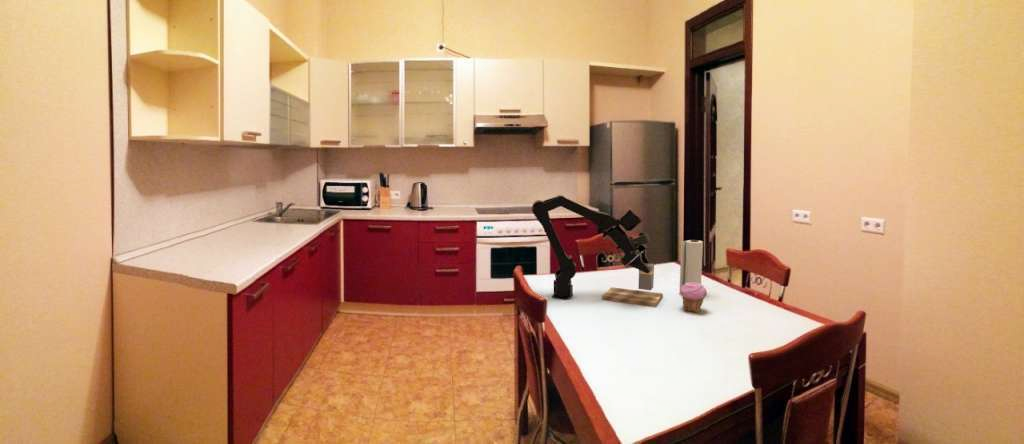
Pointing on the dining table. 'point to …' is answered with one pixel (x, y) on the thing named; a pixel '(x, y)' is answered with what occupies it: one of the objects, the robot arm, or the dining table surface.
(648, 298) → the cardboard box
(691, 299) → the cupcake
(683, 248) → the paper towel roll
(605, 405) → the dining table surface
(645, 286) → the gift box with lid
